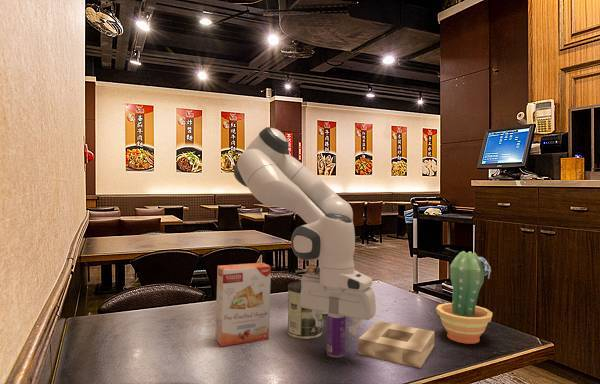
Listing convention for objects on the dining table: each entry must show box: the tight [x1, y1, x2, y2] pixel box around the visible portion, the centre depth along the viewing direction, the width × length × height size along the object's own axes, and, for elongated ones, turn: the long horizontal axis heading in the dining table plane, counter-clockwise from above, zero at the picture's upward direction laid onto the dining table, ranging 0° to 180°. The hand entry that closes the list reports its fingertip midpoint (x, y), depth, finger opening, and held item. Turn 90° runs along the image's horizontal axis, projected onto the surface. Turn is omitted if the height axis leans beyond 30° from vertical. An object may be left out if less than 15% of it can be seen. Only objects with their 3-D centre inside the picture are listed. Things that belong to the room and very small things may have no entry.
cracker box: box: [215, 262, 272, 347], centre depth 115 cm, size 14×6×21 cm, turn 117°
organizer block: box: [357, 320, 436, 369], centre depth 110 cm, size 16×16×4 cm
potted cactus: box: [435, 250, 493, 344], centre depth 120 cm, size 15×15×25 cm
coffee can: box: [287, 280, 323, 340], centre depth 122 cm, size 10×10×14 cm
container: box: [326, 297, 347, 358], centre depth 107 cm, size 5×5×15 cm
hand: (335, 330), depth 107 cm, fingers open, 8 cm apart
